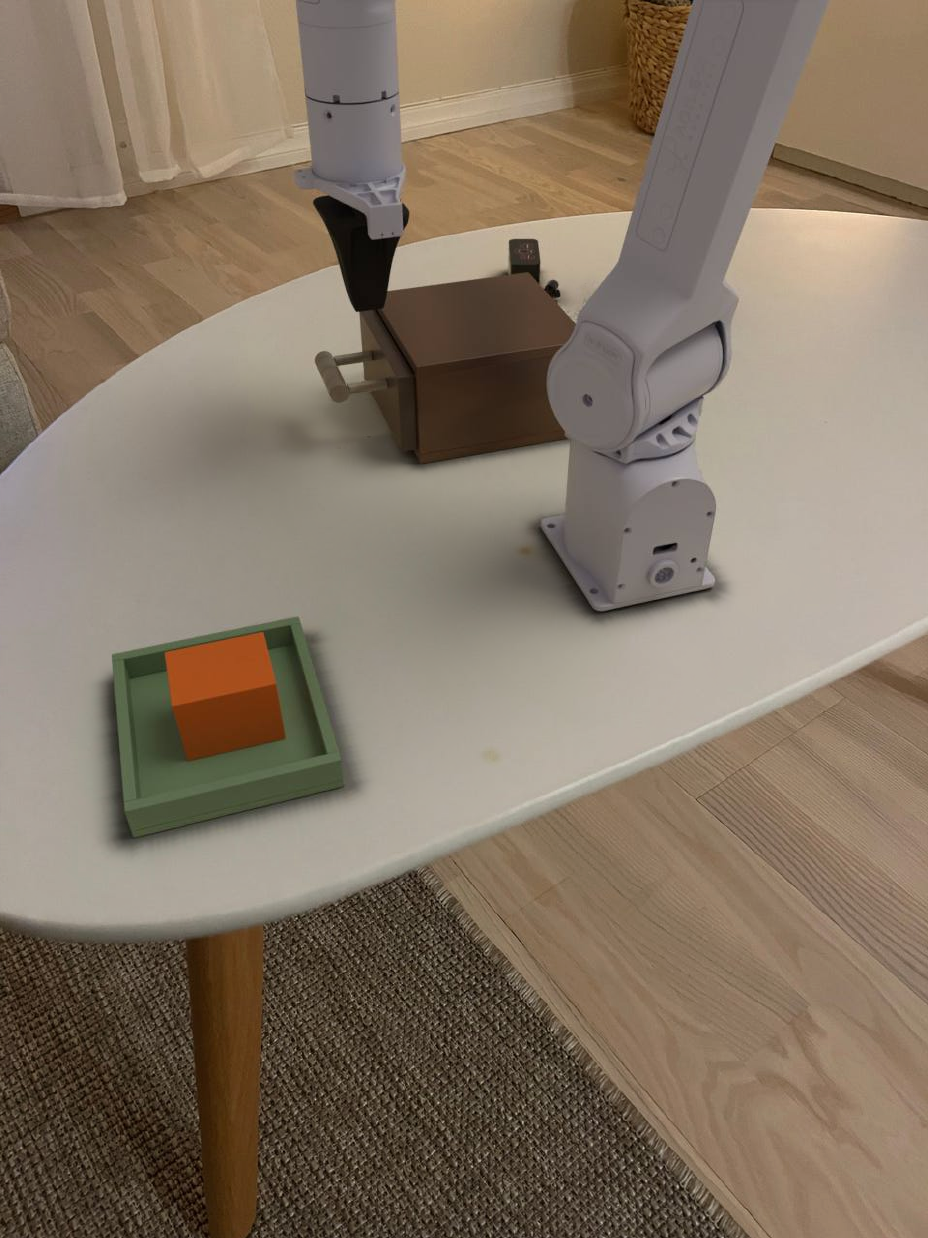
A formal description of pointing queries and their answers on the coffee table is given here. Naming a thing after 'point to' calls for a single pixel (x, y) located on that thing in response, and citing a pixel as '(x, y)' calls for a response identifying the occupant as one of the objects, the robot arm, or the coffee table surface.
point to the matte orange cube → (224, 696)
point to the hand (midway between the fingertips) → (367, 306)
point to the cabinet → (479, 362)
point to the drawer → (377, 378)
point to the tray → (225, 782)
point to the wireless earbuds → (528, 262)
